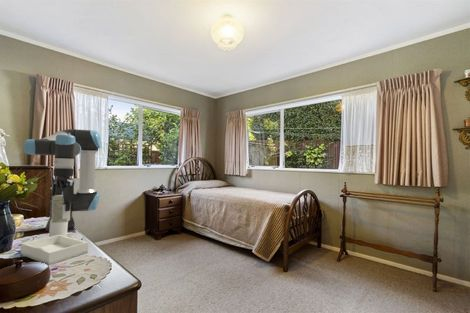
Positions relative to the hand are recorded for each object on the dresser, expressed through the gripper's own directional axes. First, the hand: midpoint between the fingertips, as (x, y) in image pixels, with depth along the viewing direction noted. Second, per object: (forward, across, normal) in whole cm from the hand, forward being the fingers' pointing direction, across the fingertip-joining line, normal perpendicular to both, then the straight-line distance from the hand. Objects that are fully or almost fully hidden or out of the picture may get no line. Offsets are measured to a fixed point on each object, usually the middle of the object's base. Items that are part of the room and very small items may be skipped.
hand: (61, 217), depth 108 cm
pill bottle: (+18, -23, +11) cm, 31 cm away
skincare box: (+2, 0, 0) cm, 2 cm away
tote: (+17, -4, 0) cm, 18 cm away
